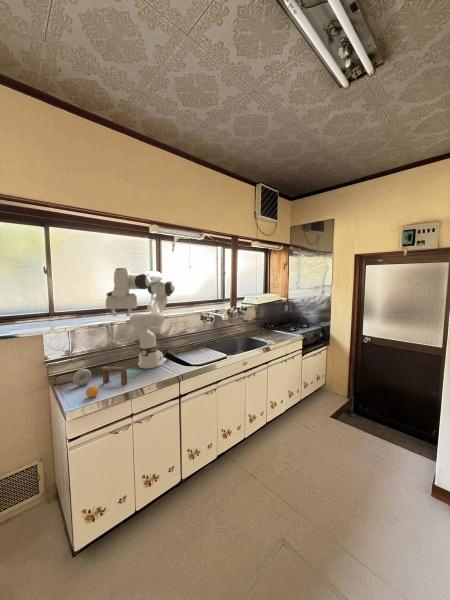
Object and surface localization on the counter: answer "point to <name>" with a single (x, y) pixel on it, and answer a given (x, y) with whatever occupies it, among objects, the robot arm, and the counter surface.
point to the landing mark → (132, 373)
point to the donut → (79, 373)
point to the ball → (92, 391)
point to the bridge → (121, 369)
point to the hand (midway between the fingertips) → (121, 316)
